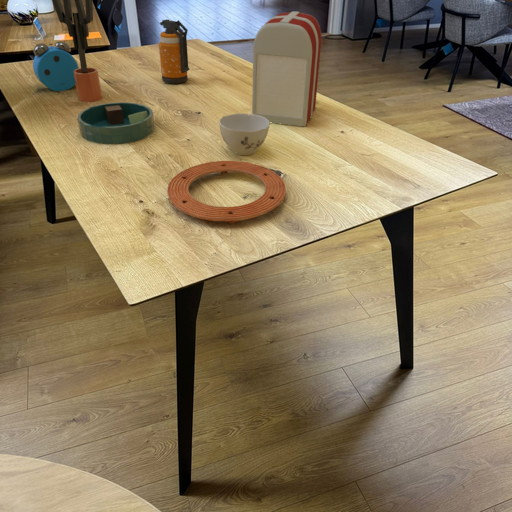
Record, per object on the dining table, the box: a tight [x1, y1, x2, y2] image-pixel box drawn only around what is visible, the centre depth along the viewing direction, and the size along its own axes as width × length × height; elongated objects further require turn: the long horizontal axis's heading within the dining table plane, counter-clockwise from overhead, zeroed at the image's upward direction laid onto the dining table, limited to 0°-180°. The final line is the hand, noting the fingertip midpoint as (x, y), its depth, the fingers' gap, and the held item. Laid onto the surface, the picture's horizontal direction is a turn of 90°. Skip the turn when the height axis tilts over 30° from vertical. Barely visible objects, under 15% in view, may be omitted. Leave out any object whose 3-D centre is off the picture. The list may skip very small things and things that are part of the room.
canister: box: [158, 19, 190, 85], centre depth 164 cm, size 9×11×20 cm
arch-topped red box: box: [251, 10, 322, 127], centre depth 137 cm, size 16×18×27 cm
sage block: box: [128, 111, 148, 124], centre depth 129 cm, size 4×4×4 cm
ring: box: [166, 160, 287, 224], centre depth 103 cm, size 25×25×2 cm
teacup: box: [218, 112, 271, 156], centre depth 121 cm, size 15×12×8 cm
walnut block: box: [105, 105, 124, 125], centre depth 135 cm, size 4×4×4 cm
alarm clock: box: [32, 40, 80, 92], centre depth 156 cm, size 13×6×15 cm, turn 125°
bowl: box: [76, 101, 155, 145], centre depth 130 cm, size 20×20×5 cm
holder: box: [73, 66, 103, 103], centre depth 150 cm, size 7×7×9 cm
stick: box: [72, 11, 88, 73], centre depth 143 cm, size 2×2×20 cm
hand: (81, 48), depth 144 cm, fingers closed on stick, 2 cm apart
